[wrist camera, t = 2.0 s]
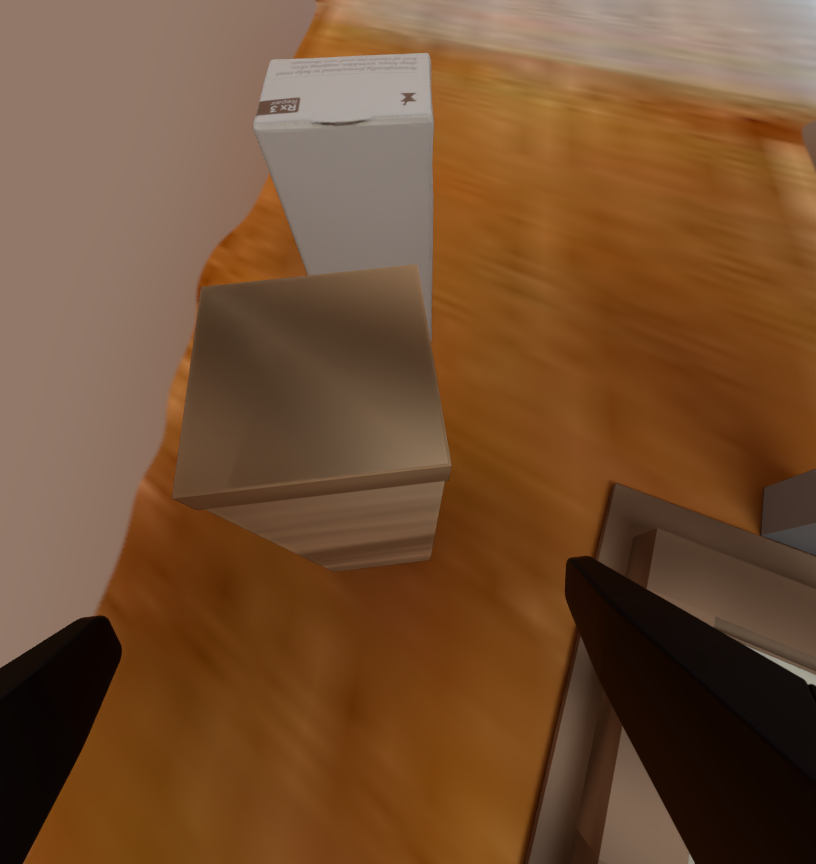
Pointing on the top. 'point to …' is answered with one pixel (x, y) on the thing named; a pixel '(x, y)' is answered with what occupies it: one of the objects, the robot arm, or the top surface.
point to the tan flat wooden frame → (592, 711)
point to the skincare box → (353, 160)
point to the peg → (318, 416)
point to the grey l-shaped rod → (791, 512)
